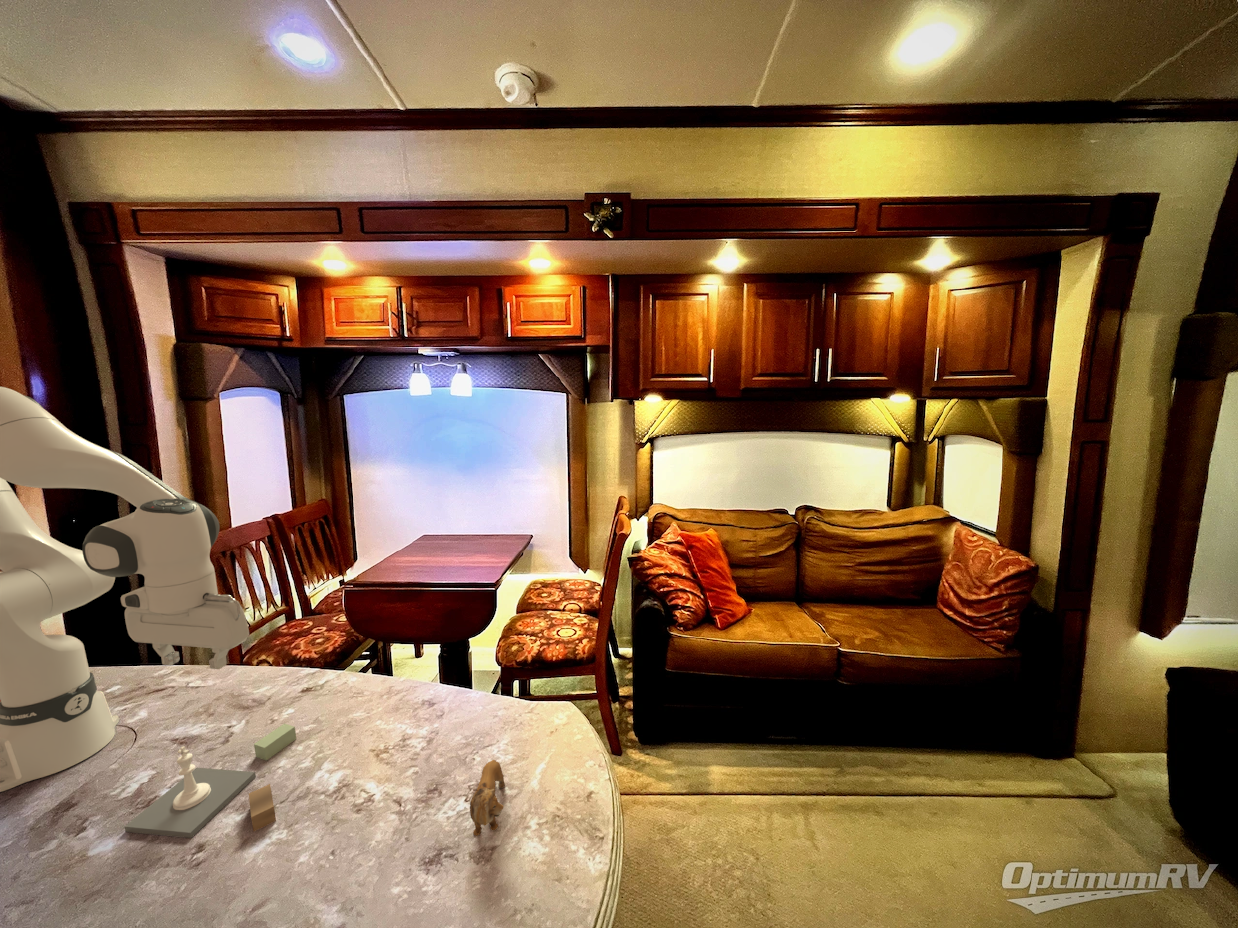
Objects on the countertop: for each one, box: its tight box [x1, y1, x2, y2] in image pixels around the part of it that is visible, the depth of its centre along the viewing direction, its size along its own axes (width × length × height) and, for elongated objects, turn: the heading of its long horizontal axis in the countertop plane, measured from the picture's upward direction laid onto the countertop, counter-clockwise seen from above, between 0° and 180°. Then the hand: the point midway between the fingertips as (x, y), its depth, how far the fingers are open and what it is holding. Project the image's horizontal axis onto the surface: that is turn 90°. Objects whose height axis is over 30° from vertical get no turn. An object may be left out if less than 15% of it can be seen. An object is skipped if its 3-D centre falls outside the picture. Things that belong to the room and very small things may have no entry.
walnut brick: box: [248, 783, 277, 833], centre depth 79 cm, size 6×3×3 cm, turn 41°
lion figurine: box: [469, 759, 506, 837], centre depth 78 cm, size 15×5×9 cm, turn 14°
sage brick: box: [253, 722, 297, 761], centre depth 94 cm, size 6×3×3 cm, turn 161°
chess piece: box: [173, 745, 211, 810], centre depth 80 cm, size 5×5×10 cm
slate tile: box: [124, 767, 257, 839], centre depth 81 cm, size 12×12×1 cm
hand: (194, 665), depth 83 cm, fingers open, 8 cm apart
